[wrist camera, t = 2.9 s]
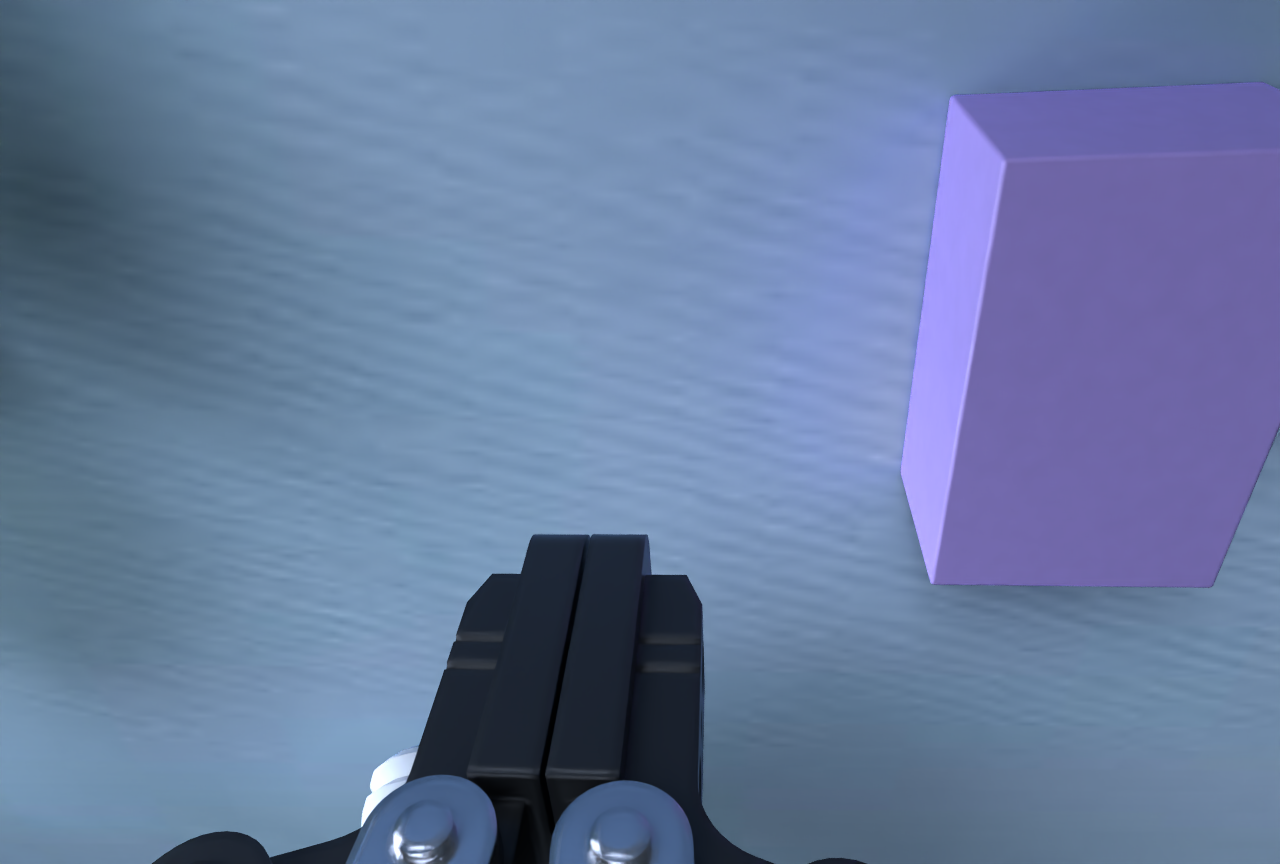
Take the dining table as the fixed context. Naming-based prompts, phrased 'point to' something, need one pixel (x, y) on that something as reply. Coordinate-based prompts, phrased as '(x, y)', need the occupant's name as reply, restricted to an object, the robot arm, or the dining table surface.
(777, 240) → the dining table surface
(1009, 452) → the lavender block
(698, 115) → the dining table surface
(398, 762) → the rook chess piece
